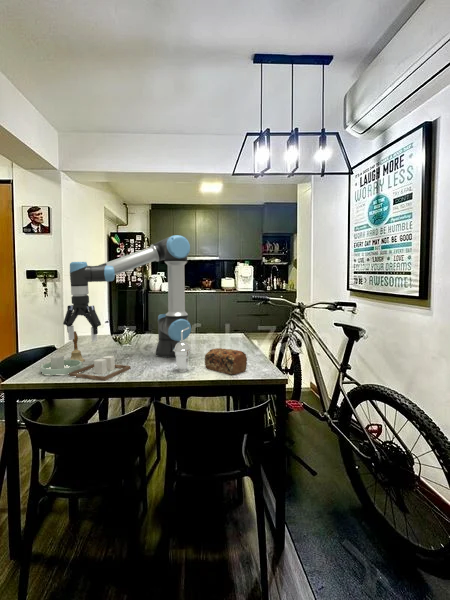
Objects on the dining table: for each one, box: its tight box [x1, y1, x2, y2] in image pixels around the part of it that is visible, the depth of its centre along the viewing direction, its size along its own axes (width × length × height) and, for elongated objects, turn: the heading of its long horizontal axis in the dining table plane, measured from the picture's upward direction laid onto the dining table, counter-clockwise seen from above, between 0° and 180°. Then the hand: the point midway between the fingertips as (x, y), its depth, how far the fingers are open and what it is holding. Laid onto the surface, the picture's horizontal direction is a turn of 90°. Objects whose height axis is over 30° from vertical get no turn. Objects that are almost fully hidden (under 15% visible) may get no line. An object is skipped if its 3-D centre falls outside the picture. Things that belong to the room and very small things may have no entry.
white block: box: [93, 358, 108, 375], centre depth 166 cm, size 4×4×6 cm
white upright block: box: [102, 355, 116, 371], centre depth 172 cm, size 4×4×6 cm
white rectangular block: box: [50, 354, 65, 369], centre depth 171 cm, size 4×4×6 cm
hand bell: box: [69, 330, 86, 363], centre depth 187 cm, size 8×8×16 cm
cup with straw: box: [173, 327, 192, 373], centre depth 168 cm, size 8×9×20 cm
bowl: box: [39, 359, 84, 375], centre depth 170 cm, size 18×18×3 cm
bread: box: [204, 347, 248, 376], centre depth 168 cm, size 19×11×10 cm, turn 46°
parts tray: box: [68, 363, 131, 381], centre depth 166 cm, size 20×19×2 cm
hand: (82, 340), depth 167 cm, fingers open, 13 cm apart
